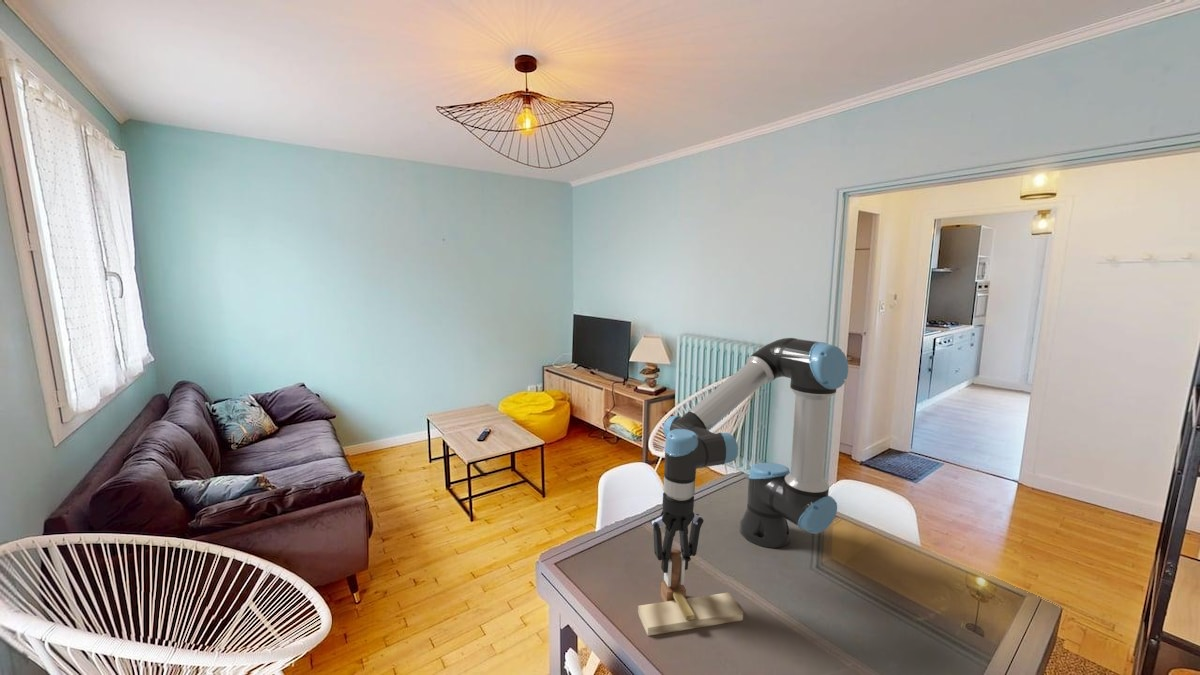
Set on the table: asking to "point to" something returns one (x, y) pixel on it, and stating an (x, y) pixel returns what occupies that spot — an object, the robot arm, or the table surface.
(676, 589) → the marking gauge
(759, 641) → the table surface
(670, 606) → the board
